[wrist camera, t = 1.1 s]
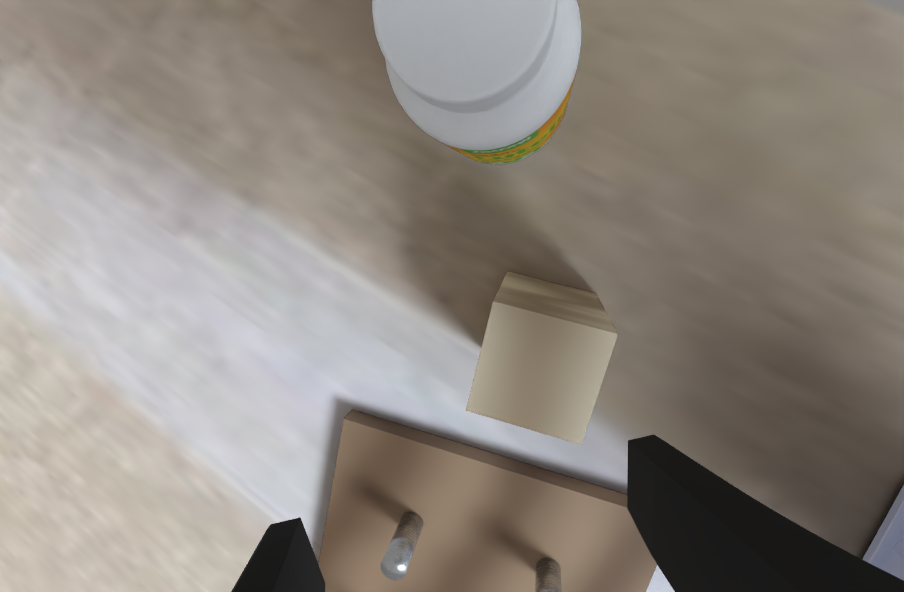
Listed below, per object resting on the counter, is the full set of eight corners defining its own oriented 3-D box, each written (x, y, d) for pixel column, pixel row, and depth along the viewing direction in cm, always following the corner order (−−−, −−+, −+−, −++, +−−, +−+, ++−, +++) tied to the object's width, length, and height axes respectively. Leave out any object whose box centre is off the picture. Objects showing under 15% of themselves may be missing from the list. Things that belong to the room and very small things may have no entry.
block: (596, 293, 20) (617, 334, 14) (570, 375, 21) (581, 444, 15) (507, 271, 20) (493, 301, 14) (486, 352, 21) (465, 410, 16)
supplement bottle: (484, 191, 20) (432, 186, 10) (414, 86, 19) (293, -16, 10) (594, 111, 18) (647, 22, 9) (519, -4, 18) (493, -225, 8)
